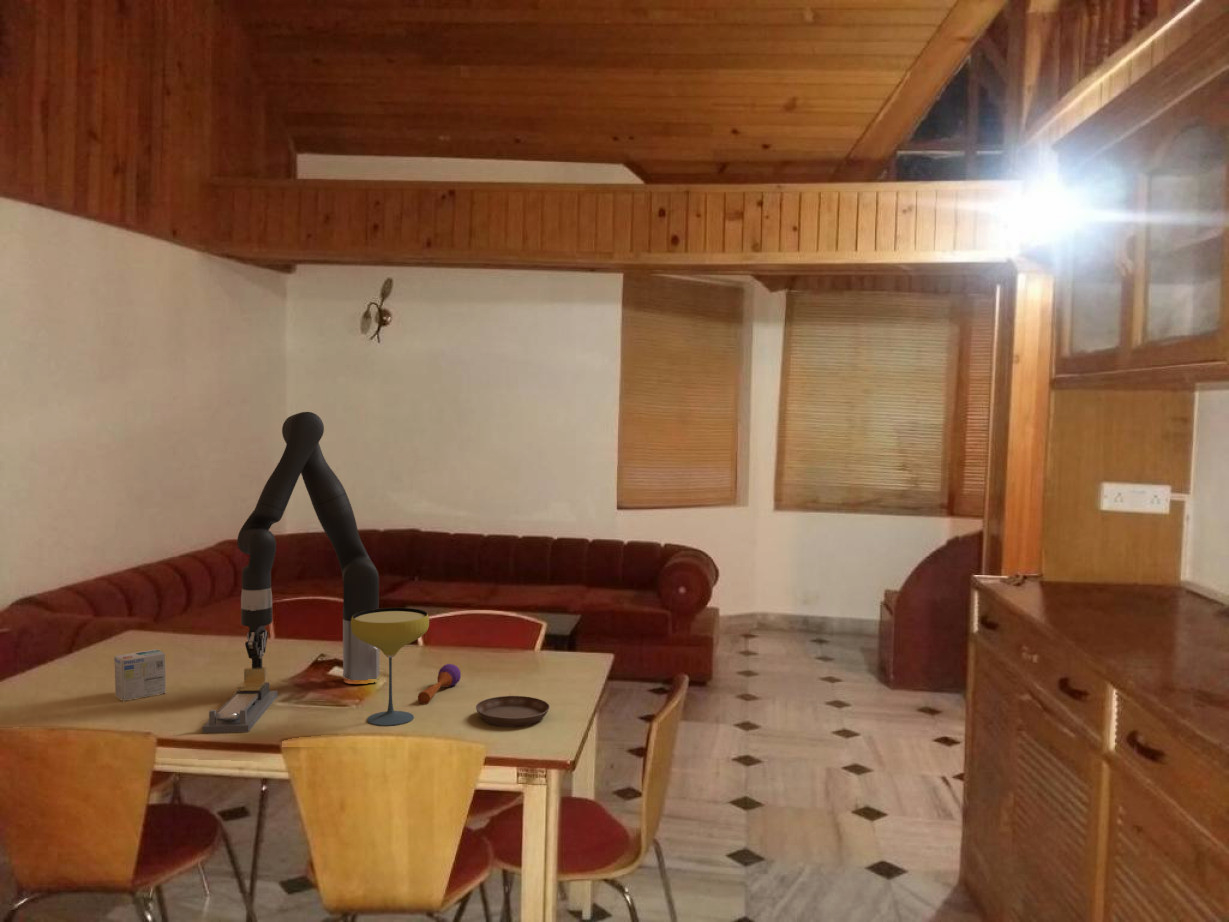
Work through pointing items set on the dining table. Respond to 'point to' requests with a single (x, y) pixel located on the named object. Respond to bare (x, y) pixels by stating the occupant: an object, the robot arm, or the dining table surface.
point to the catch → (253, 679)
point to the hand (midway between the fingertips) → (257, 672)
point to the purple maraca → (441, 682)
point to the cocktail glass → (390, 645)
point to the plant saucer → (512, 710)
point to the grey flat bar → (236, 706)
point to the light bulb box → (140, 674)
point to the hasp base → (242, 713)
